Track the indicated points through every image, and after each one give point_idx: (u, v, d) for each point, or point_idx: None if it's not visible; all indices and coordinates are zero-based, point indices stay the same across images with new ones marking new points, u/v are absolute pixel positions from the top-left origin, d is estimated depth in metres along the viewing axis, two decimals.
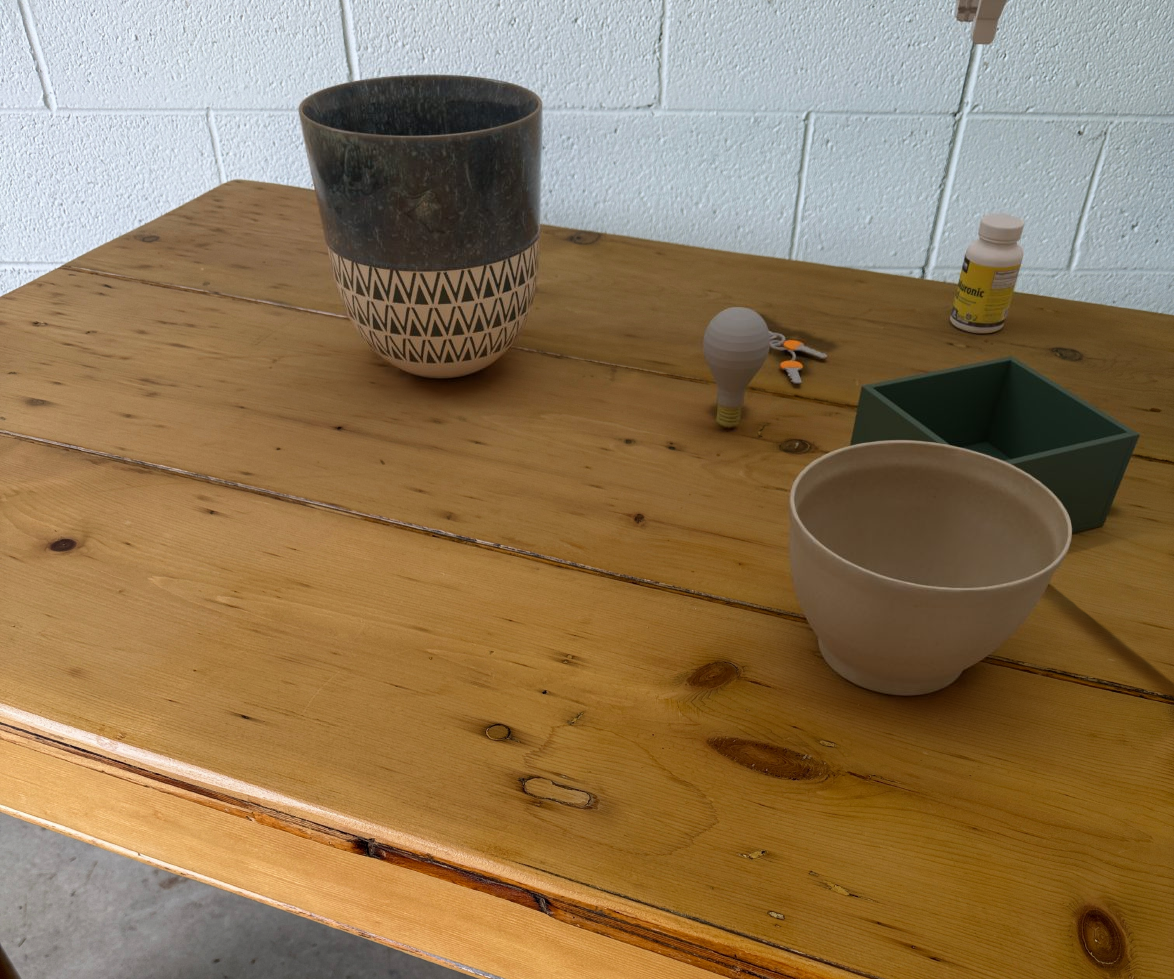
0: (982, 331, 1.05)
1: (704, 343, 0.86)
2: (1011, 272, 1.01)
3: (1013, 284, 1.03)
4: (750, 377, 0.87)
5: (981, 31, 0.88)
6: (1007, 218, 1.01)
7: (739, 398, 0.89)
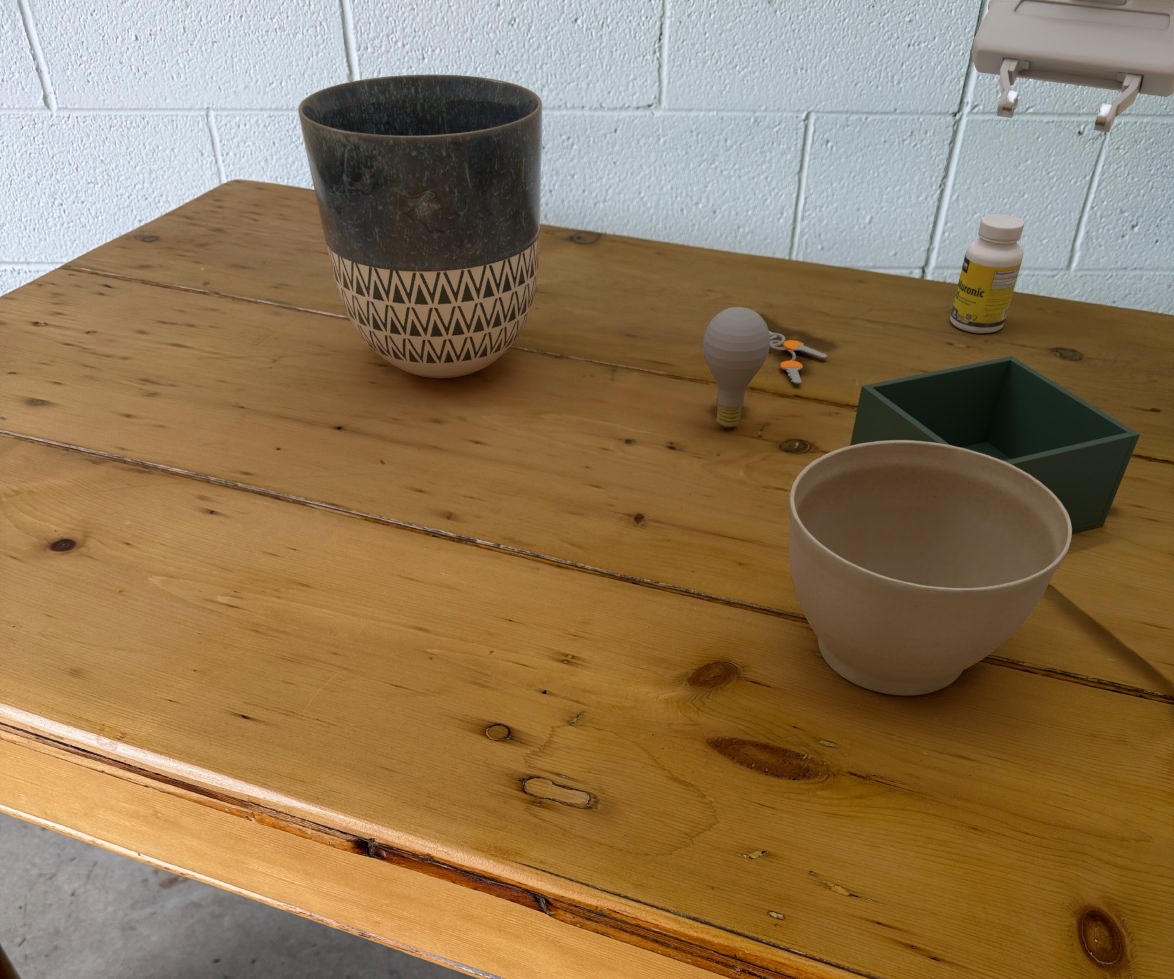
0: (982, 331, 1.05)
1: (704, 343, 0.86)
2: (1011, 272, 1.01)
3: (1013, 284, 1.03)
4: (750, 377, 0.87)
5: None
6: (1007, 218, 1.01)
7: (739, 398, 0.89)
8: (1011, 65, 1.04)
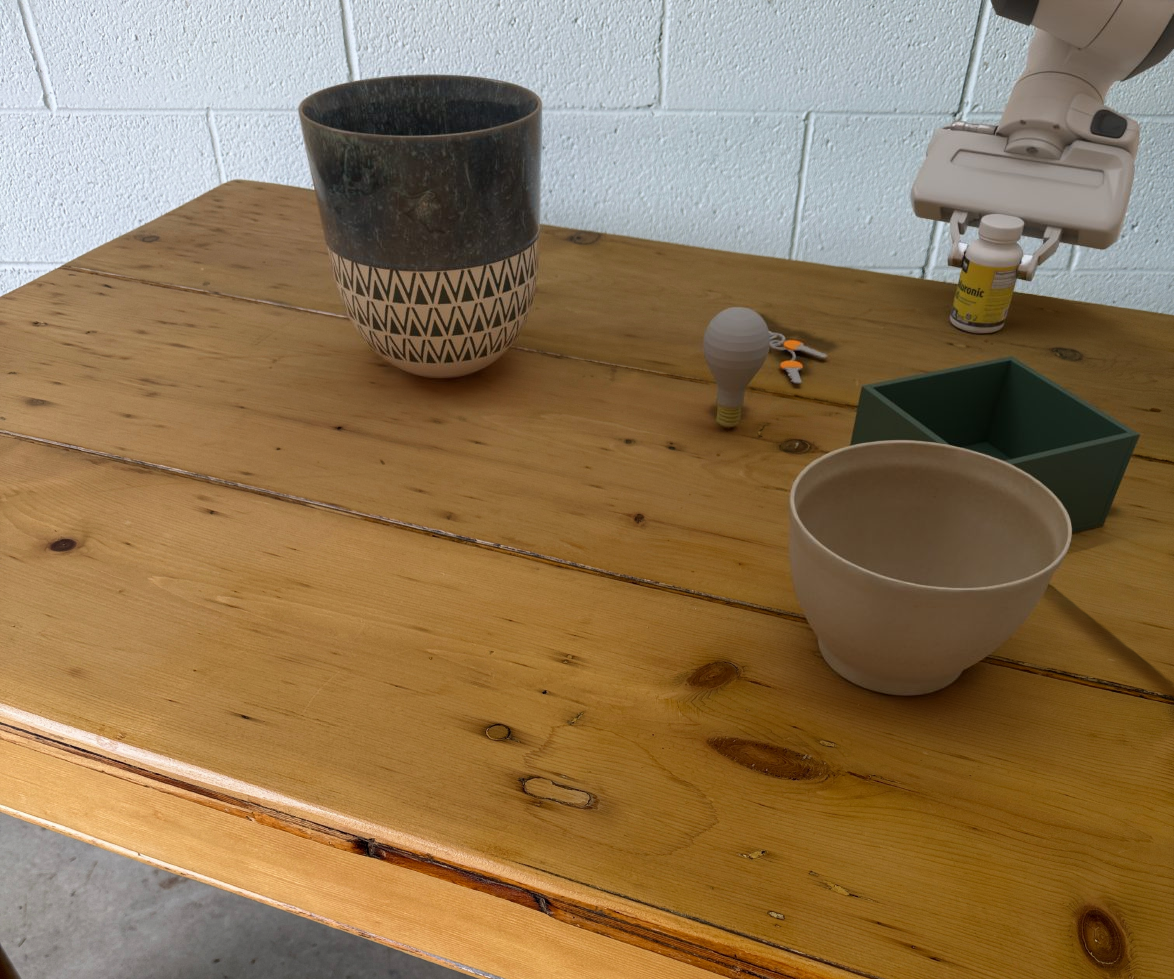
0: (982, 331, 1.05)
1: (704, 343, 0.86)
2: (1011, 272, 1.01)
3: (1013, 284, 1.03)
4: (750, 377, 0.87)
5: None
6: (1007, 218, 1.01)
7: (739, 398, 0.89)
8: (961, 217, 1.03)
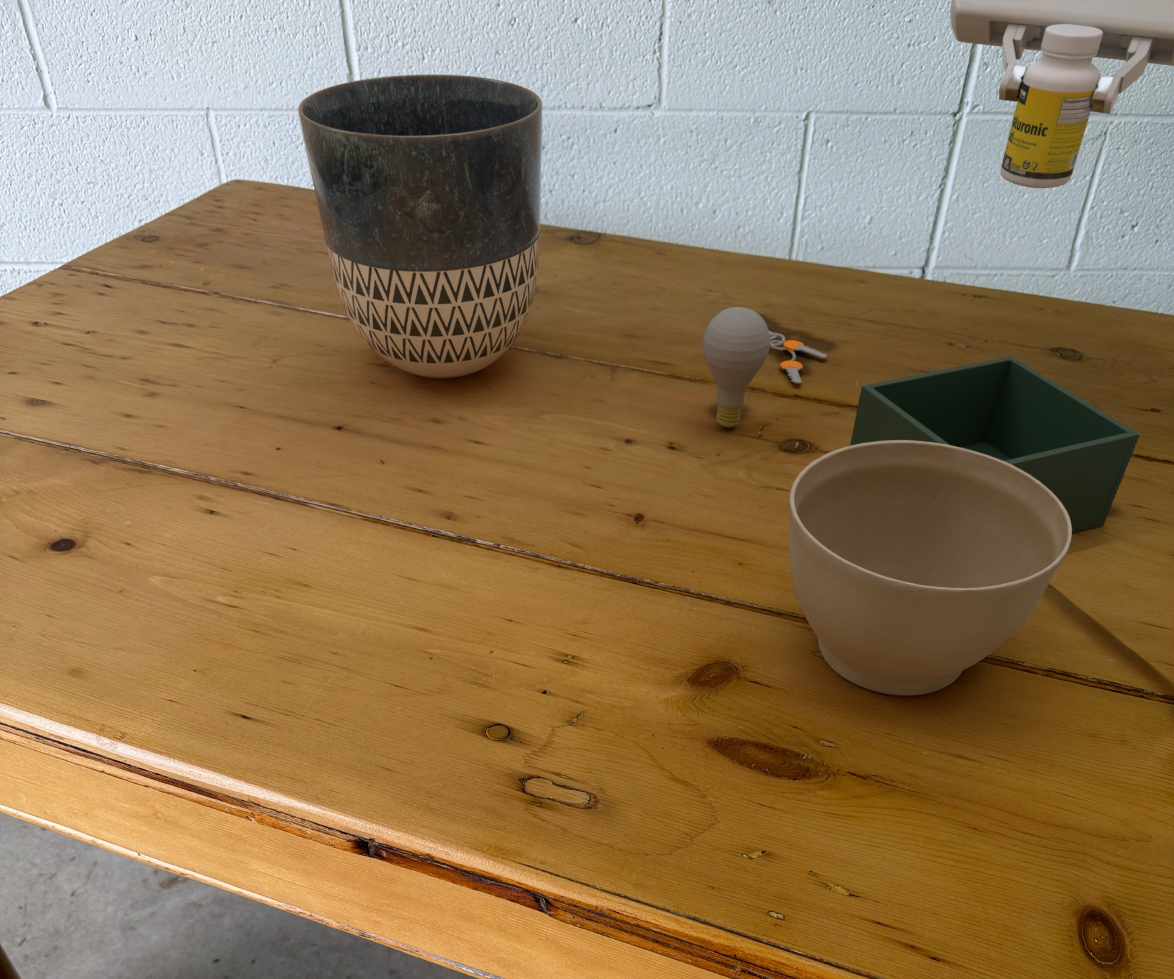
0: (1043, 184, 0.81)
1: (704, 343, 0.86)
2: (1085, 100, 0.77)
3: (1086, 118, 0.79)
4: (750, 377, 0.87)
5: None
6: (1079, 27, 0.77)
7: (739, 398, 0.89)
8: (1017, 32, 0.79)
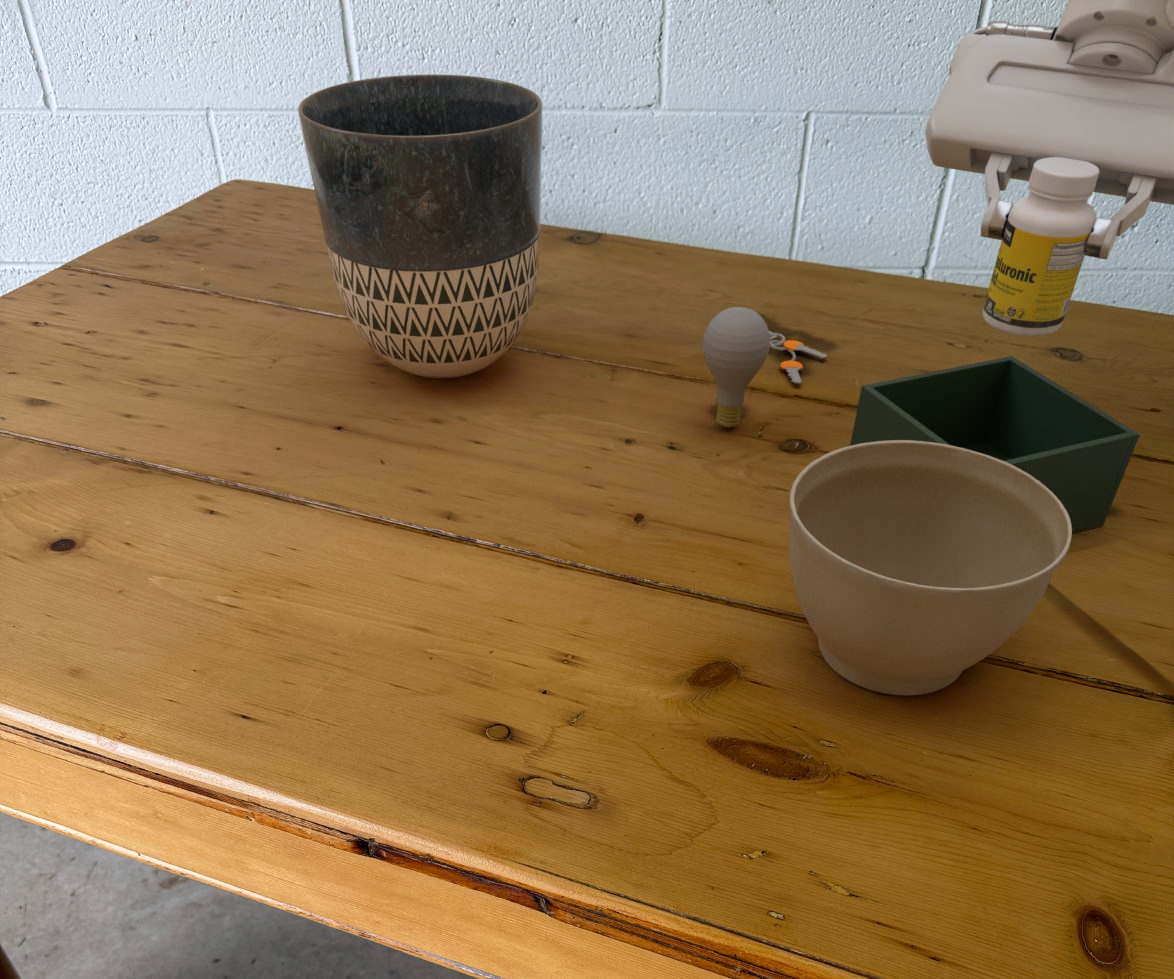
0: (1031, 333, 0.71)
1: (704, 343, 0.86)
2: (1078, 245, 0.67)
3: (1079, 263, 0.69)
4: (750, 377, 0.87)
5: None
6: (1073, 163, 0.67)
7: (739, 398, 0.89)
8: (1002, 163, 0.69)
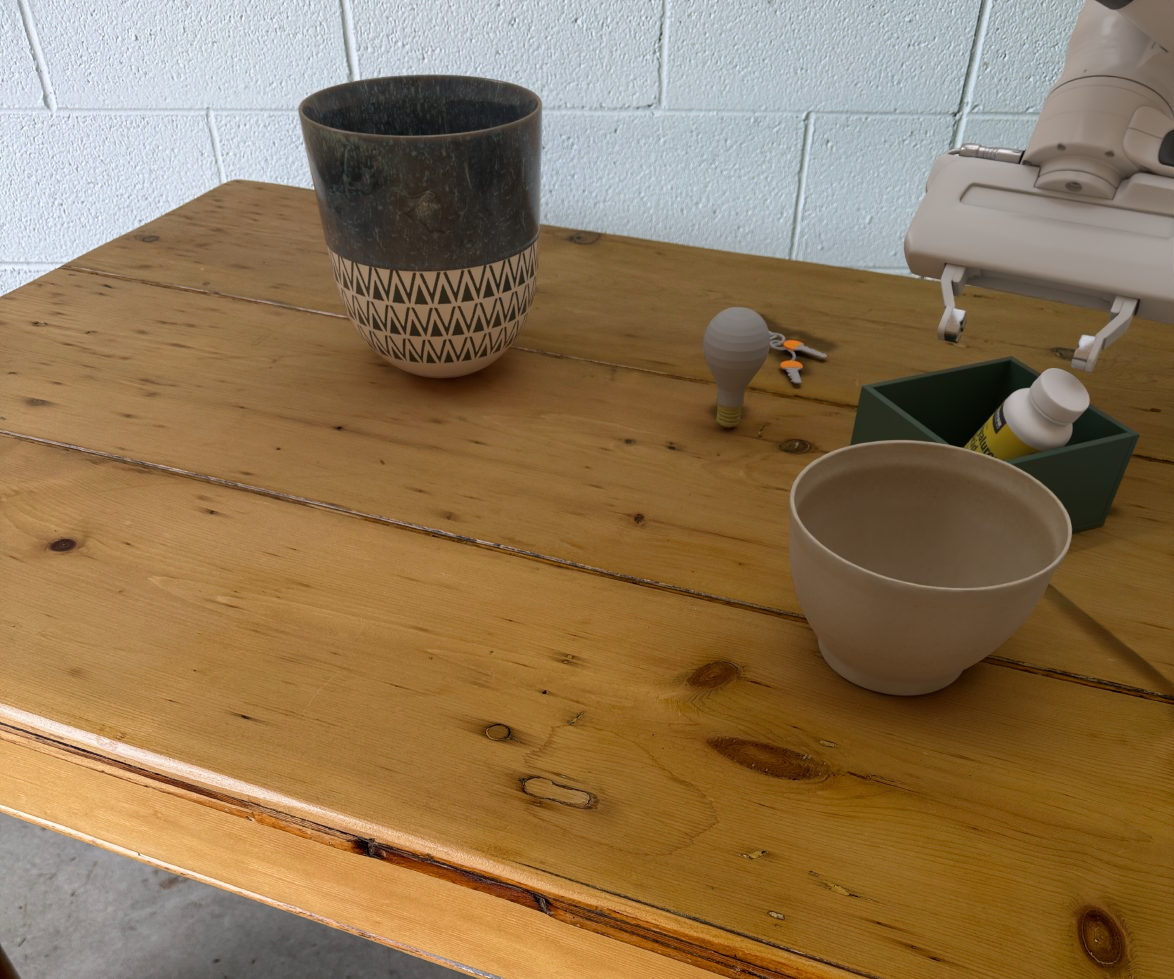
0: None
1: (704, 343, 0.86)
2: None
3: None
4: (750, 377, 0.87)
5: None
6: (1072, 384, 0.74)
7: (739, 398, 0.89)
8: (956, 274, 0.75)
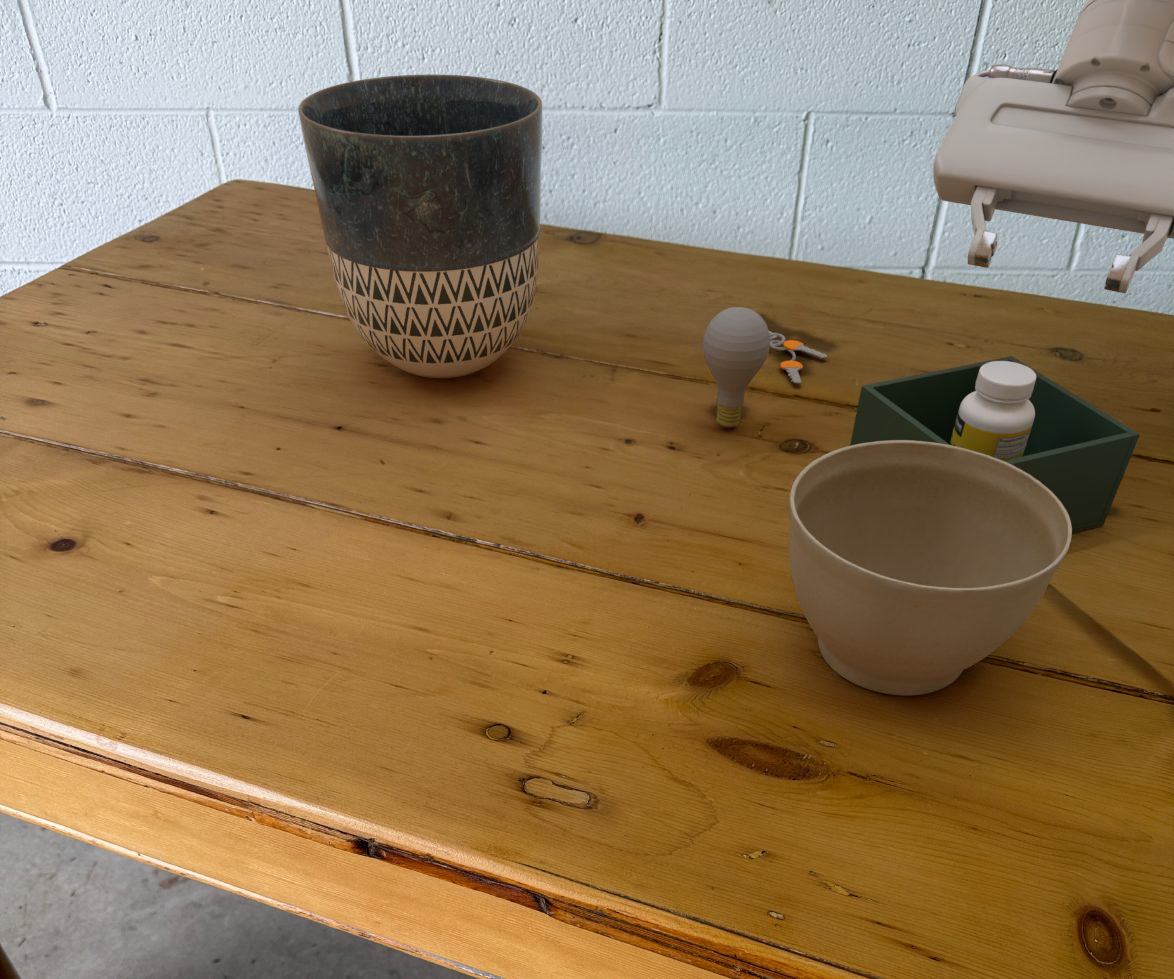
0: None
1: (704, 343, 0.86)
2: (1020, 438, 0.77)
3: (1022, 451, 0.78)
4: (750, 377, 0.87)
5: None
6: (1013, 368, 0.76)
7: (739, 398, 0.89)
8: (986, 196, 0.74)
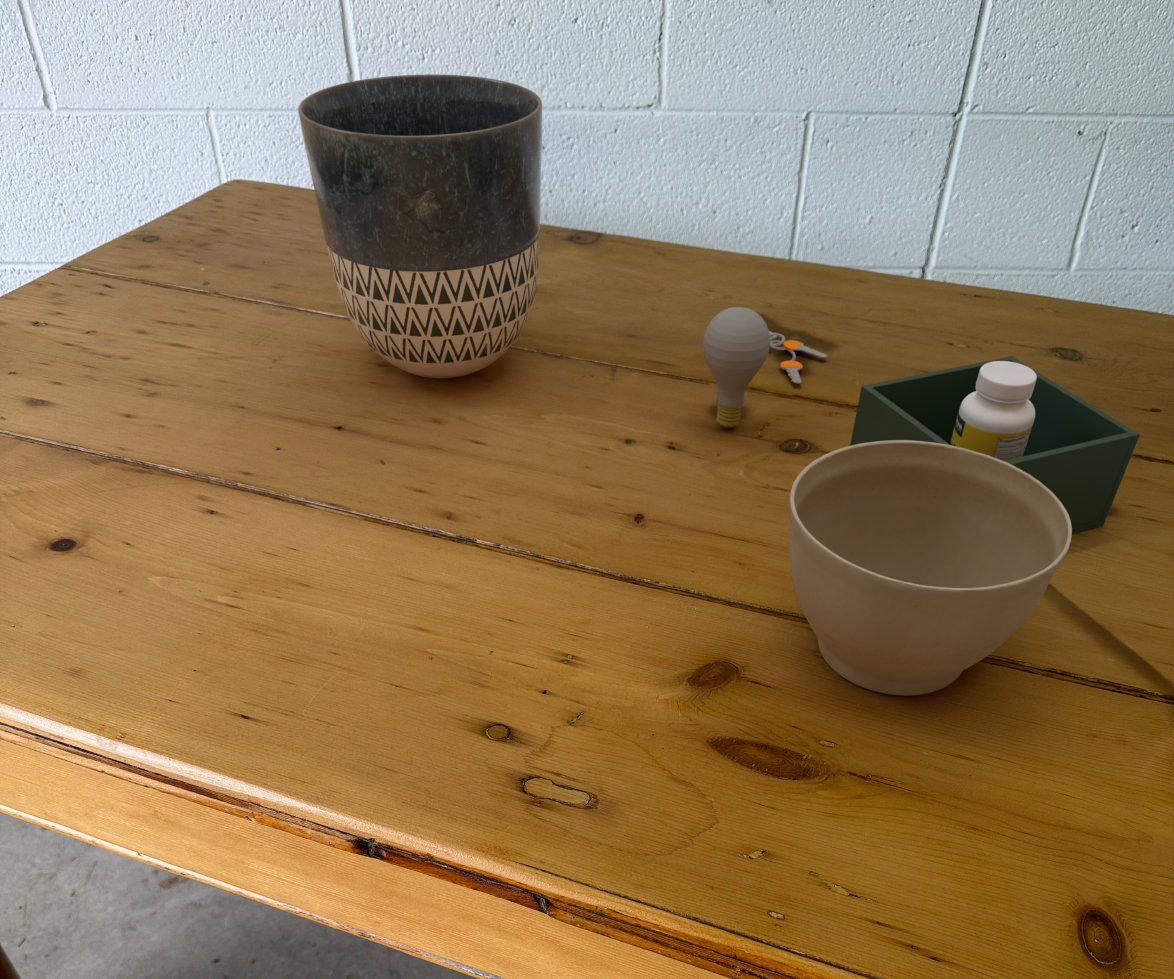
0: None
1: (704, 343, 0.86)
2: (1020, 438, 0.77)
3: (1022, 451, 0.78)
4: (750, 377, 0.87)
5: None
6: (1014, 368, 0.76)
7: (739, 398, 0.89)
8: None
